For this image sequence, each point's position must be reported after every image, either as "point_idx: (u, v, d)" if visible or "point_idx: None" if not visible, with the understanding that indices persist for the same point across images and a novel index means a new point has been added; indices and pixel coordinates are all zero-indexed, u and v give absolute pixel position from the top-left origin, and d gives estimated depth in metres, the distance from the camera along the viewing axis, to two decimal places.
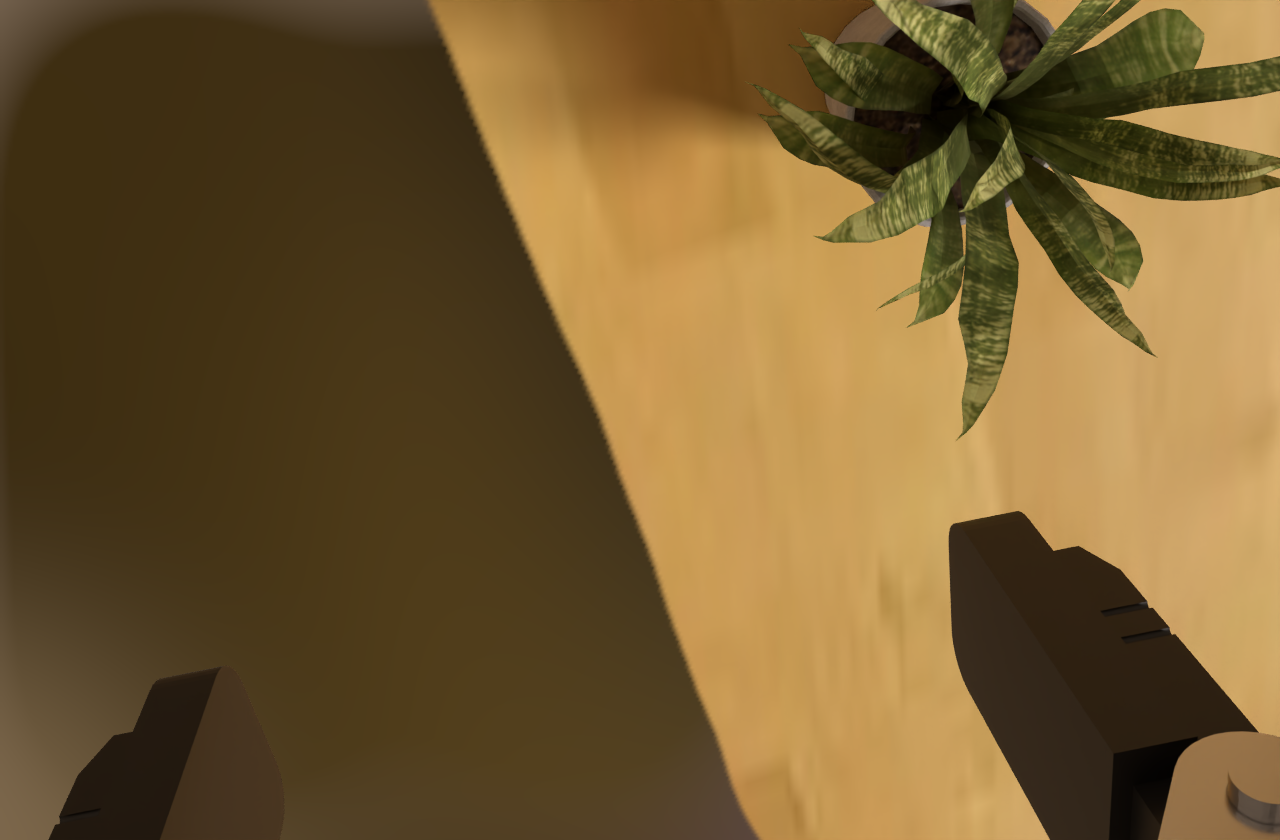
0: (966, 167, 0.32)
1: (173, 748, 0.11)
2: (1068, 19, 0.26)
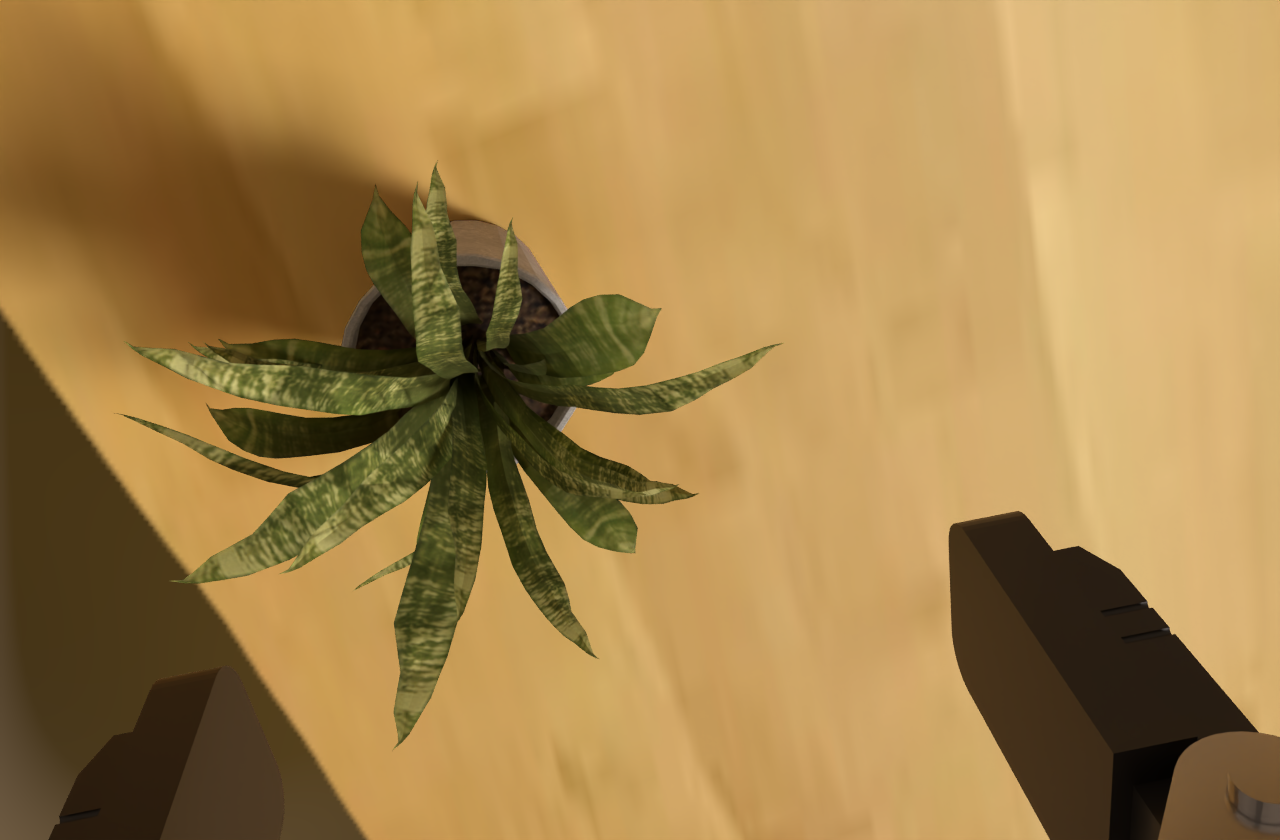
0: None
1: (173, 748, 0.11)
2: (420, 352, 0.25)
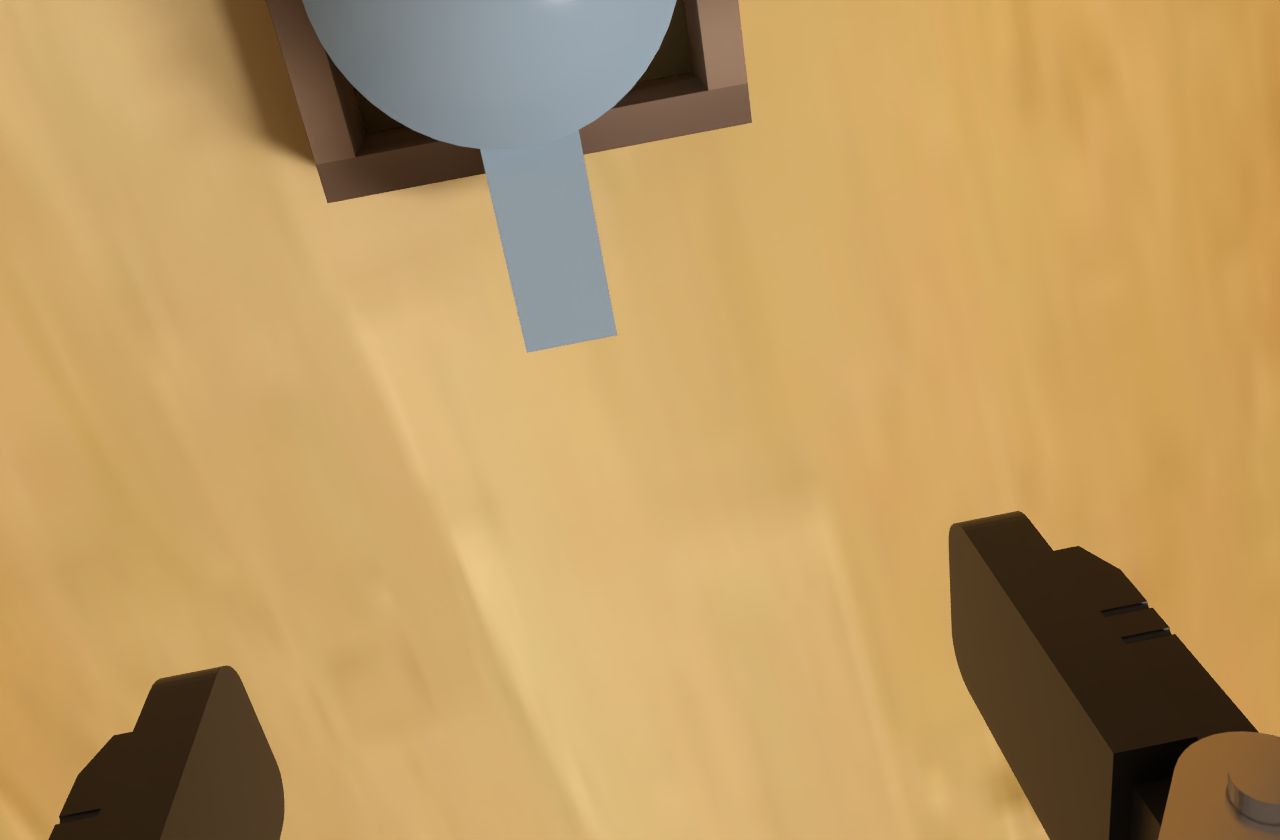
0: None
1: (173, 748, 0.11)
2: None
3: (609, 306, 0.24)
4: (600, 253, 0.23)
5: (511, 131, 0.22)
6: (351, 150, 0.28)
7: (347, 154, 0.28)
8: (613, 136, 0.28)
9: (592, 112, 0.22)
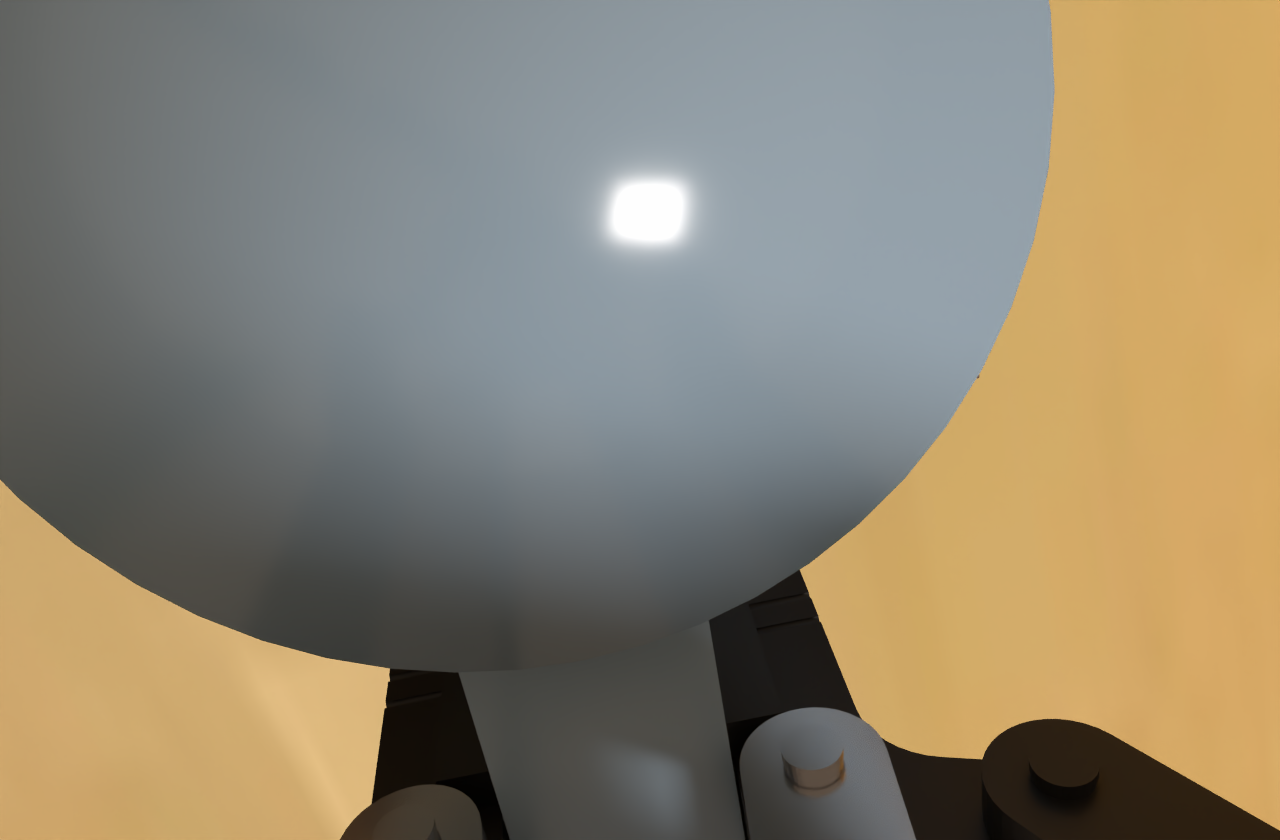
0: None
1: None
2: None
3: None
4: (739, 826, 0.10)
5: (531, 631, 0.08)
6: None
7: None
8: None
9: (751, 580, 0.08)
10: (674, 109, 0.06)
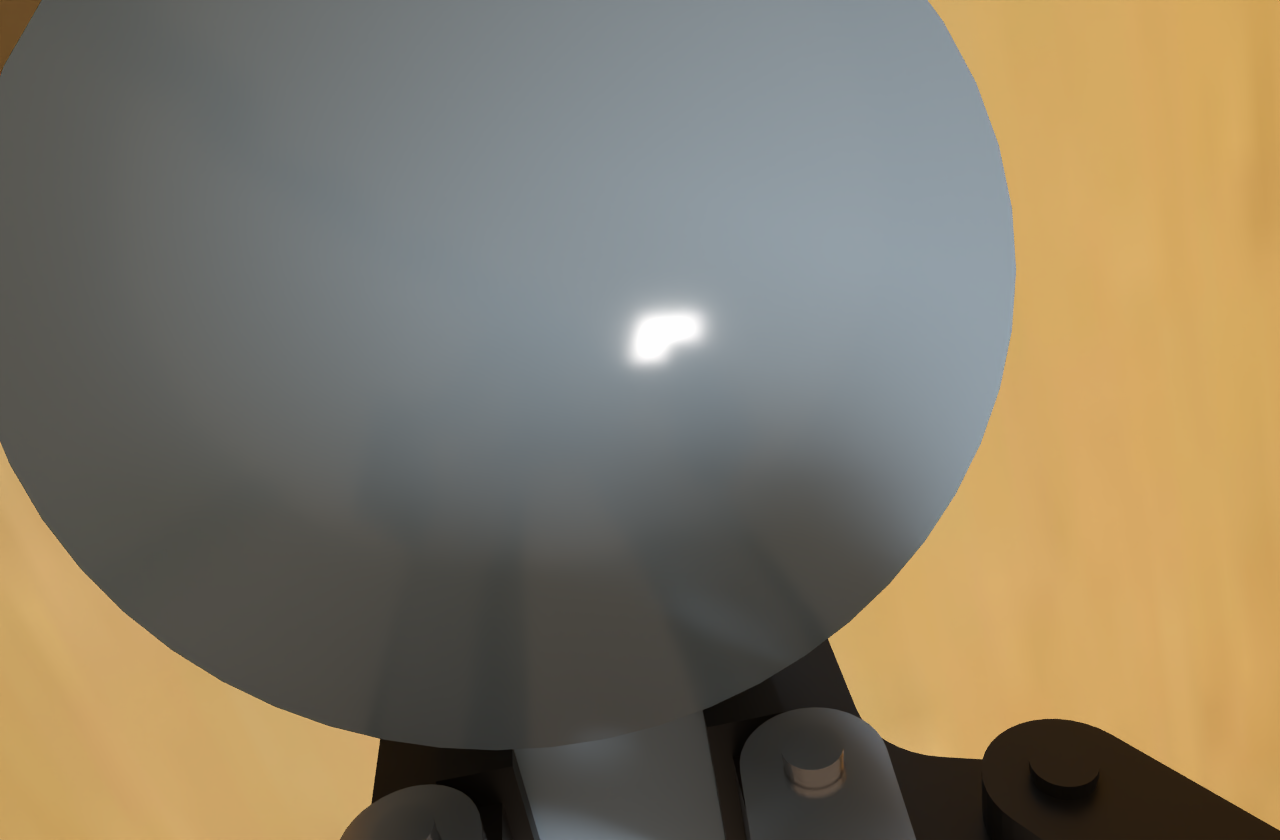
0: None
1: None
2: None
3: None
4: None
5: (563, 714, 0.09)
6: None
7: None
8: None
9: (755, 670, 0.09)
10: (693, 291, 0.08)
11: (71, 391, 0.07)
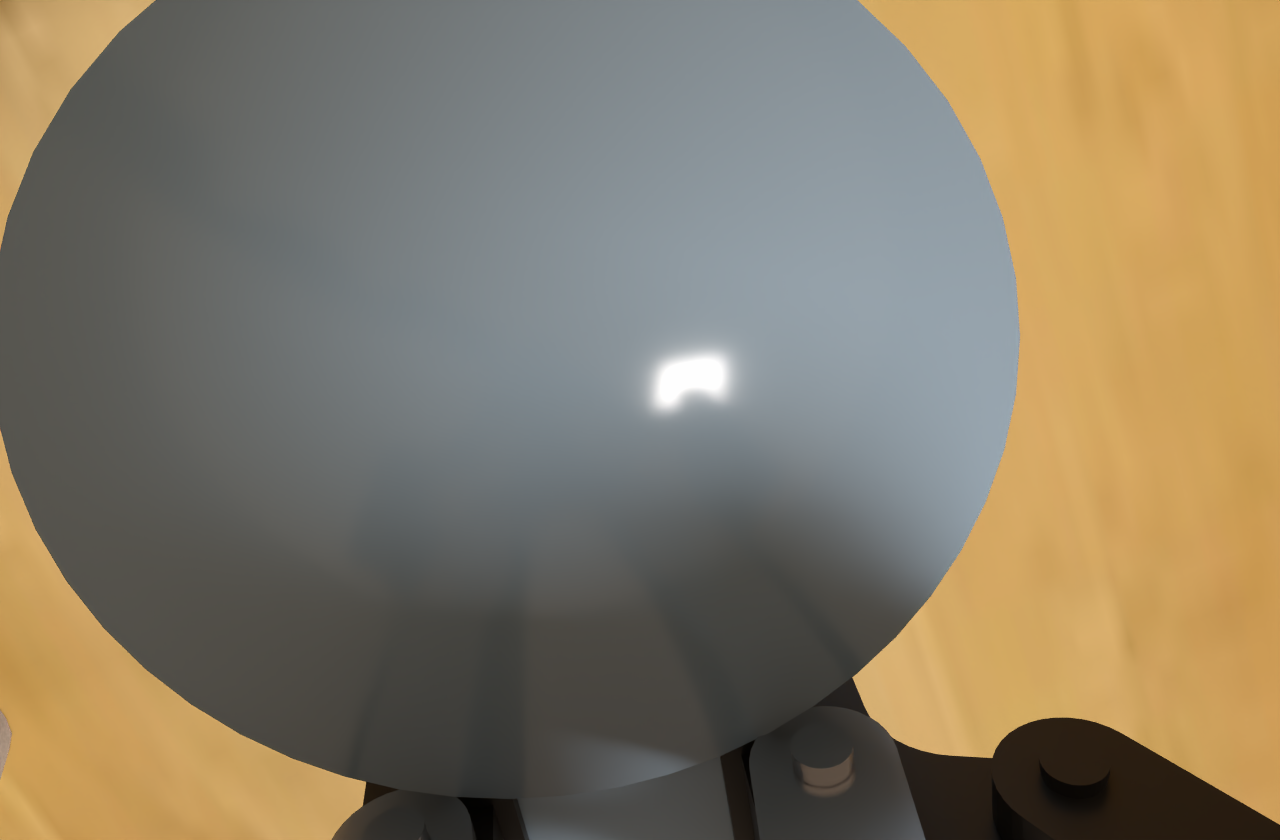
0: None
1: None
2: None
3: None
4: None
5: (575, 764, 0.09)
6: None
7: None
8: None
9: (764, 721, 0.09)
10: (703, 359, 0.08)
11: (96, 458, 0.08)
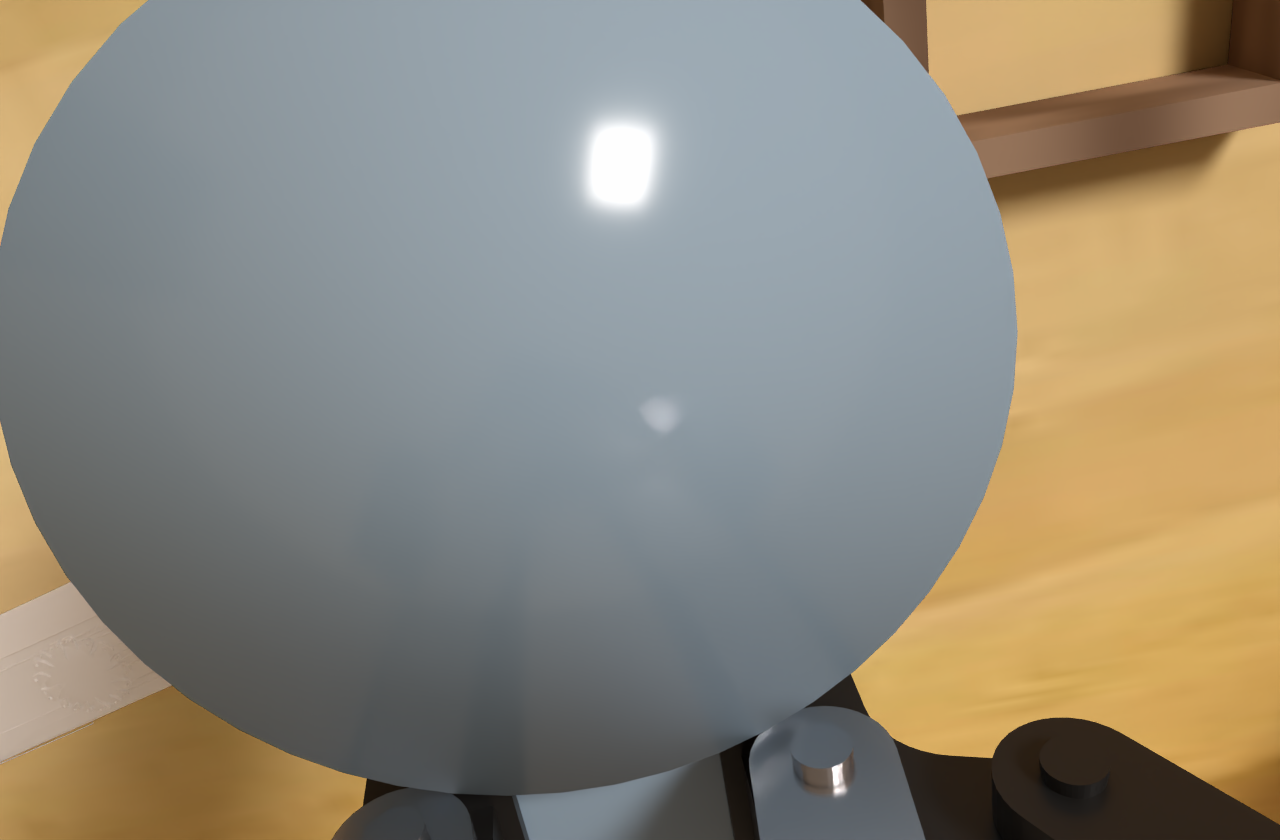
0: None
1: None
2: None
3: None
4: None
5: (573, 761, 0.09)
6: (1277, 85, 0.28)
7: None
8: None
9: (762, 717, 0.09)
10: (700, 353, 0.08)
11: (94, 452, 0.08)
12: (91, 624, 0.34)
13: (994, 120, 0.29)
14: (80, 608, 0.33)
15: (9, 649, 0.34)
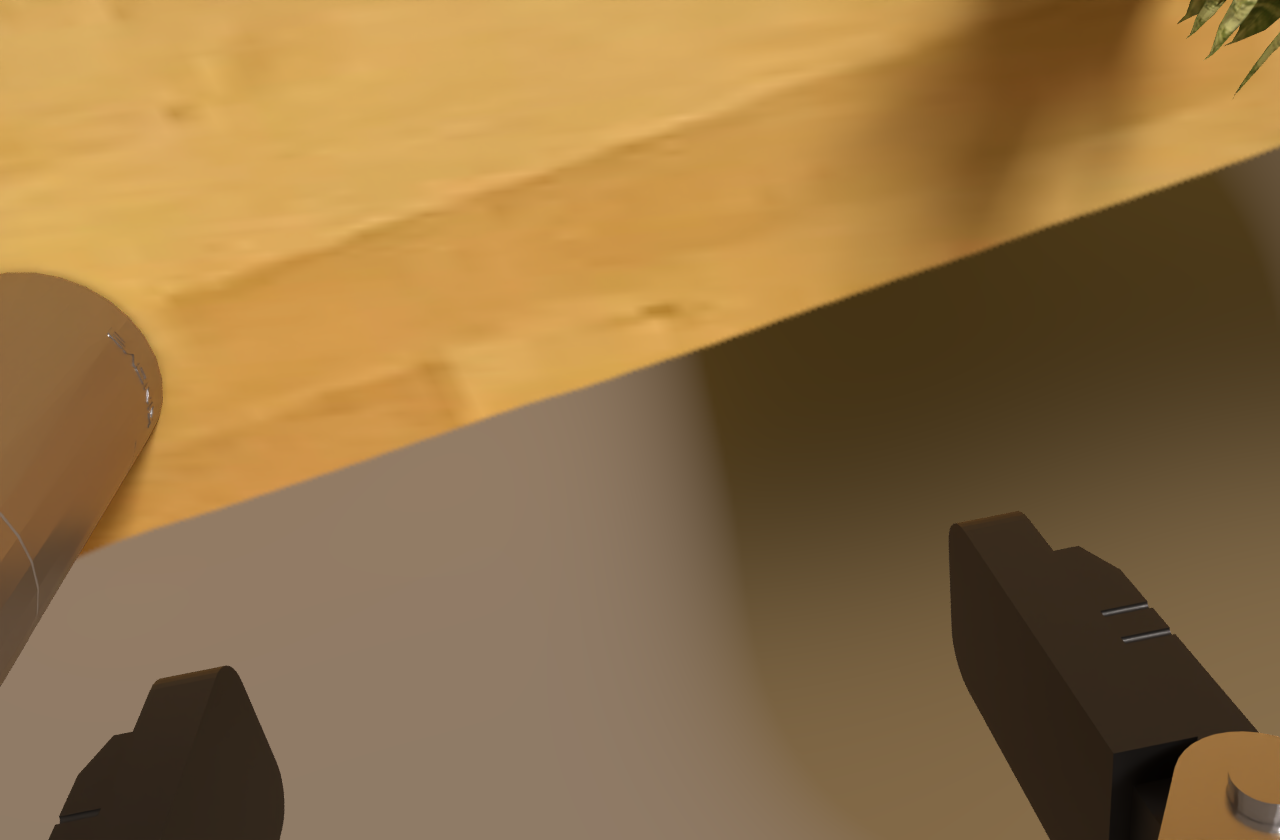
0: None
1: (173, 748, 0.11)
2: None
3: None
4: None
5: None
6: None
7: None
8: None
9: None
10: None
11: None
12: None
13: None
14: None
15: None
